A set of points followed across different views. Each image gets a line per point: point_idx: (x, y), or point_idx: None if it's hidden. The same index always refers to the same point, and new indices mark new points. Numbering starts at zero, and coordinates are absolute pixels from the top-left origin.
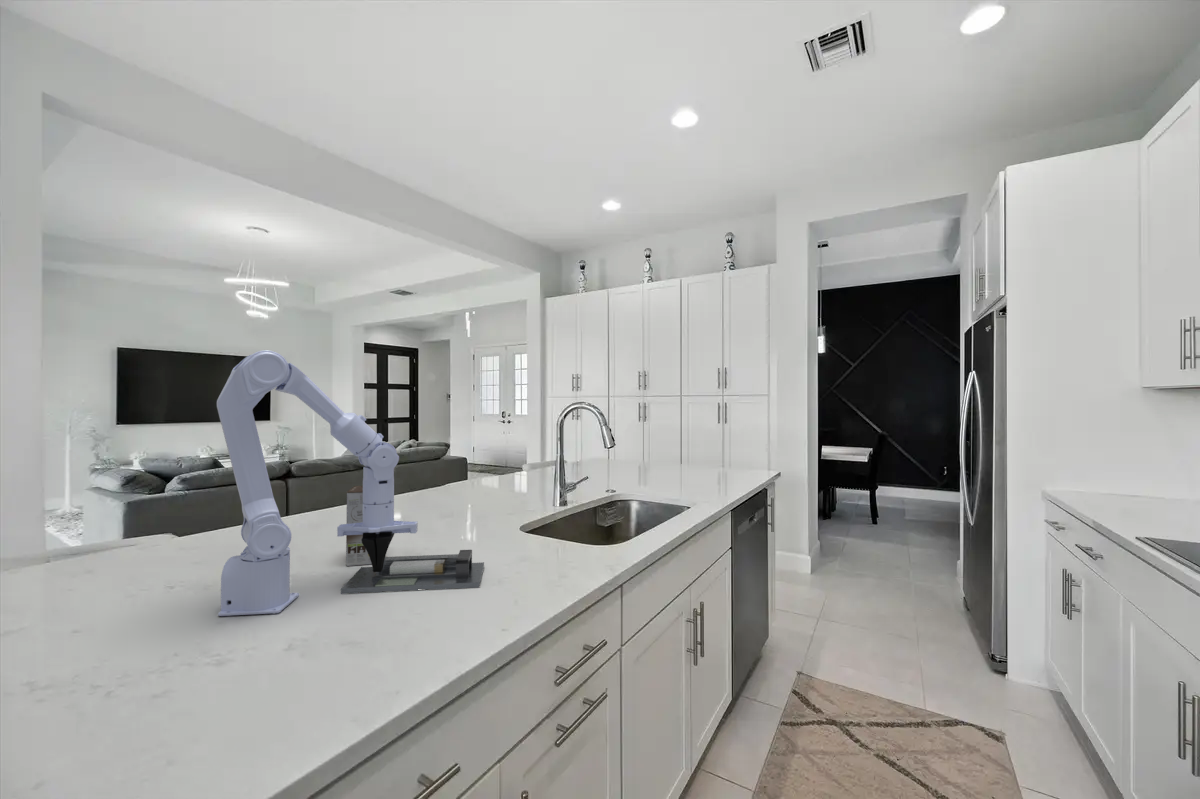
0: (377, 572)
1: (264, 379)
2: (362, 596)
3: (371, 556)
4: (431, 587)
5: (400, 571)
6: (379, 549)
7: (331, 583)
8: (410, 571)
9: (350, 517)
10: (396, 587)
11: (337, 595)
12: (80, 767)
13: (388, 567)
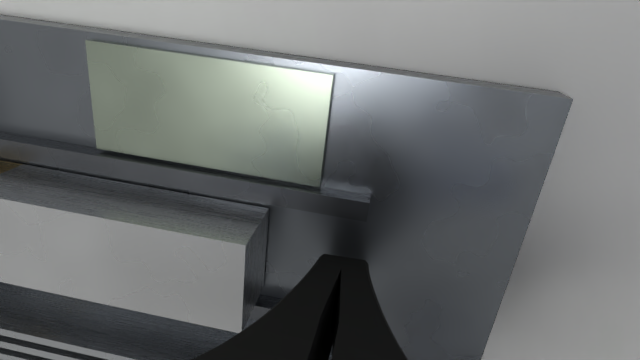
0: None
1: None
2: (412, 7)
3: (371, 325)
4: (7, 16)
5: (191, 213)
6: (282, 348)
7: (616, 295)
8: (132, 202)
9: None
10: (202, 46)
11: (580, 72)
12: None
13: None
